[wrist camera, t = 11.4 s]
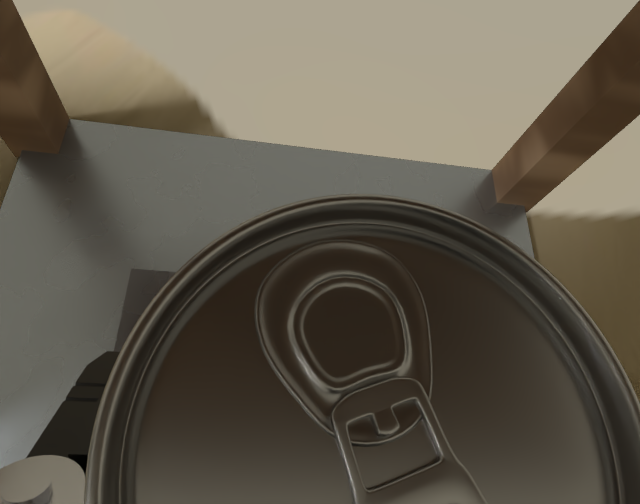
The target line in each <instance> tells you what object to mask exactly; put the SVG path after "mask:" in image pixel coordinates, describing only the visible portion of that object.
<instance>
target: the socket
mask: <svg viewBox="0 0 640 504" xmlns="http://www.w3.org/2000/svg"><path fill="white" fill-rule="evenodd" d="M341 194H377V195H388V196H396V197H402V198H407V199H412V200H417V201H421V202H425V203H429V204H432V205H436V206H439V207H442V208H445V209H448V210H450V211H453V212H456V213H458V214H460V215H463V216H465V217H467V218H470V219H472V220H474V221H476V222H478V223H480V224H482V225H484V226H486V227H488V228H489V229H491V230H493V231H495V232H496V233H498V234H500V235H501V236H503V237H505V238H506V239H508V240H509V241H511V242H512V243H514V244H515V245H517V246H518V247H519V248H521V249H522V250H524V251H525V252H526V253H528V254H529V255H530V256H531V257H533V258H534V253H533V248H532V243H531V238H530V233H529V228H528V222H527V217H526V212H525V207H524V206H522V205H513V204H504V203H497V199H496V193H495V187H494V181H493V175H492V170H485V169H478V168H470V167H461V166H453V165H444V164H437V163H428V162H420V161H412V160H404V159H395V158H387V157H378V156H370V155H363V154H354V153H346V152H338V151H330V150H321V149H313V148H305V147H296V146H288V145H280V144H271V143H264V142H256V141H247V140H239V139H231V138H223V137H214V136H206V135H198V134H190V133H181V132H173V131H165V130H157V129H148V128H140V127H132V126H124V125H115V124H107V123H99V122H91V121H83V120H74V119H69V122H68V125H67V128H66V131H65V134H64V137H63V141H62V144H61V147H60V150H59V153H58V154H53V153H44V152H35V151H26V150H22V151H21V154H20V157H19V159H18V162H17V165H16V168H15V170H14V173H13V176H12V179H11V181H10V184H9V187H8V189H7V192H6V195H5V198H4V200H3V203H2V206H1V209H0V469H1V468H3V467H4V466H7V465H9V464H11V463H13V462H16V461H19V460H22V459H25V458H26V457H27V455H28V454H29V452H30V451H31V449H32V448H33V446H34V445H35V443H36V442H37V440H38V439H39V437H40V436H41V434H42V433H43V431H44V430H45V428H46V427H47V425H48V424H49V422H50V420H51V419H52V417H53V416H54V414H55V413H56V411H57V410H58V408H59V407H60V405H61V404H62V402H63V401H65V400H66V396H67V395H68V393H69V392H70V390H71V389H72V387H73V386H75V384H76V381H77V379H78V378H79V376H80V375H81V373H82V372H83V370H84V369H85V367H86V366H87V365H88V364H89V363H91V362H92V361H94V360H95V359H96V358H98V357H99V356H101V355H102V354H104V353H105V352H107V351H115V352H120V351H121V349H122V347H123V345H124V343H125V342H126V340H127V338H128V336H129V334H130V333H131V331H132V329H133V328H134V326H135V324H136V323H137V321H138V319H139V318H140V316H141V315H142V314H143V312H144V311H145V309H146V308H147V306H148V305H149V304H150V302H151V301H152V300H153V298H154V297H155V296H156V295H157V293H158V292H159V291H160V290H161V288H162V287H163V286H164V285H165V284H166V283H167V282H168V280H169V279H170V278H171V277H172V276H173V275H174V274H175V273H176V272H177V271H178V270H179V269H180V268H181V267H182V266H183V265H184V264H185V263H186V262H187V261H189V260H190V259H191V258H192V257H193V256H194V255H195V254H197V253H198V252H199V251H200V250H202V249H203V248H204V247H205V246H207V245H208V244H209V243H211V242H212V241H214V240H215V239H216V238H218V237H219V236H221V235H222V234H224V233H226V232H227V231H229V230H230V229H232V228H234V227H236V226H237V225H239V224H241V223H243V222H245V221H247V220H249V219H251V218H253V217H255V216H258V215H260V214H262V213H265V212H267V211H270V210H272V209H275V208H278V207H281V206H284V205H287V204H290V203H294V202H298V201H302V200H306V199H311V198H316V197H323V196H330V195H341ZM534 259H535V258H534Z"/></svg>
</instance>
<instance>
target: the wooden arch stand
mask: <svg viewBox="0 0 640 504" xmlns="http://www.w3.org/2000/svg"><path fill="white" fill-rule="evenodd" d="M638 115H640V1H639V2H638V3H637V4H636V5H635V6H634V7H633V9H632V10H631V11H630V12H629V13H628V14H627V15H626V17H625V18H624V19H623V20H622V21H621V22H620V23H619V25H618V26H617V27H616V28H615V29H614V30H613V31H612V33H611V34H610V35H609V36H608V37H607V38H606V40H605V41H604V42H603V43H602V44H601V45H600V46H599V47H598V49H597V50H596V51H595V52H594V53H593V54H592V56H591V57H590V58H589V59H588V60H587V61H586V62H585V64H584V65H583V66H582V67H581V68H580V69H579V71H578V72H577V73H576V74H575V75H574V76H573V77H572V79H571V80H570V81H569V82H568V83H567V84H566V85H565V87H564V88H563V89H562V90H561V91H560V92H559V93H558V95H557V96H556V97H555V98H554V99H553V100H552V102H551V103H550V104H549V105H548V106H547V107H546V108H545V110H544V111H543V112H542V113H541V114H540V115H539V116H538V118H537V119H536V120H535V121H534V122H533V123H532V124H531V126H530V127H529V128H528V129H527V130H526V131H525V132H524V134H523V135H522V136H521V137H520V138H519V140H518V141H517V142H516V143H515V144H514V145H513V146H512V148H511V149H510V150H509V151H508V152H507V153H506V154H505V156H504V157H503V158H502V159H501V160H500V161H499V163H497V165H496V166H495V167H494V168H493V169H492V175H493V181H494V187H495V193H496V199H497V203H504V204H513V205H522V206H524V207H525V212H528V211H529V210H530V209H531V208H532V207H533V206H535V205H536V204H537V203H538V202H539V201H540V200H542V199H543V198H544V197H545V196H546V195H547V194H548V193H550V192H551V191H552V190H553V189H554V188H555V187H557V186H558V185H559V184H560V183H561V182H562V181H563V180H565V179H566V178H567V177H568V176H569V175H570V174H572V173H573V172H574V171H575V170H576V169H577V168H578V167H580V166H581V165H582V164H583V163H584V162H585V161H586V160H588V159H589V158H590V157H591V156H592V155H594V154H595V153H596V152H597V151H598V150H599V149H600V148H602V147H603V146H604V145H605V144H606V143H607V142H609V141H610V140H611V139H612V138H613V137H614V136H615V135H616V134H618V133H619V132H620V131H621V130H622V129H624V128H625V127H626V126H627V125H628V124H629V123H630V122H632V121H633V120H634V119H635V118H636V117H637V116H638ZM68 122H69V117H68V115H67V113H66V111H65V109H64V107H63V104H62V102H61V100H60V98H59V96H58V94H57V92H56V90H55V88H54V86H53V84H52V82H51V80H50V77H49V75H48V73H47V71H46V69H45V67H44V65H43V63H42V61H41V59H40V57H39V55H38V53H37V50H36V48H35V46H34V44H33V42H32V40H31V38H30V36H29V34H28V32H27V30H26V28H25V26H24V23H23V21H22V19H21V17H20V15H19V13H18V11H17V9H16V7H15V5H14V3H13V1H12V0H0V136H1V137H2V139H3V140H4V141H5V143H6V144H7V146H8V147H9V148H10V150H11V151H12V153H13V154H14V155H15V157H20V154H21V151H22V150H26V151H35V152H44V153H53V154H58V153H59V150H60V147H61V144H62V141H63V137H64V134H65V131H66V128H67V125H68Z"/></svg>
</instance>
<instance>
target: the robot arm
mask: <svg viewBox="0 0 640 504" xmlns="http://www.w3.org/2000/svg"><path fill="white" fill-rule="evenodd" d="M119 353H120V352H115V351H107V352H105V353H104V354H102V355H101V356H99V357H98V358H96V359H95V360H94V361H92V362H91V363H89V364H88V365H87V366H86V367H85V369H84V370H83V372H82V373H81V375H80V376H79V378H78V379H77V381H76V384H75V386H73V387H72V389H71V390H70V392H69V393H68V395H67V396H66V400H65V401H63V402H62V404H61V405H60V407H59V408H58V410H57V411H56V413H55V414H54V416H53V417H52V419H51V420H50V422H49V424H48V425H47V427H46V428H45V430H44V431H43V433H42V434H41V436H40V437H39V439H38V440H37V442H36V443H35V445H34V446H33V448H32V449H31V451H30V452H29V454H28V455H27V457H26V458H25V459H22V460H19V461H16V462H13V463H11V464H9V465H7V466H4V467H3V468H1V469H0V504H84V490H85V478H86V468H87V460H88V453H89V447H90V442H91V436H92V432H93V427H94V423H95V419H96V415H97V412H98V408H99V404H100V401H101V398H102V395H103V392H104V389H105V386H106V384H107V381H108V379H109V376H110V373H111V371H112V369H113V366H114V364H115V362H116V360H117V357H118V355H119Z"/></svg>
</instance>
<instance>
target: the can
mask: <svg viewBox="0 0 640 504" xmlns="http://www.w3.org/2000/svg"><path fill="white" fill-rule="evenodd" d="M84 504H640V402H639V400H638V398H637V395H636V393H635V391H634V389H633V387H632V384H631V382H630V380H629V378H628V376H627V374H626V372H625V370H624V368H623V366H622V365H621V363H620V361H619V359H618V358H617V356H616V354H615V352H614V351H613V349H612V347H611V346H610V344H609V343H608V341H607V340H606V338H605V337H604V335H603V333H602V332H601V331H600V329H599V328H598V326H597V325H596V324H595V322H594V321H593V319H592V318H591V317H590V316H589V314H588V313H587V312H586V310H585V309H584V308H583V307H582V306H581V304H580V303H579V302H578V301H577V300H576V299H575V297H574V296H573V295H572V294H571V293H570V292H569V291H568V290H567V289H566V288H565V287H564V286H563V284H562V283H561V282H560V281H558V280H557V279H556V278H555V277H554V276H553V275H552V274H551V273H550V272H549V271H548V270H547V269H546V268H545V267H543V266H542V265H541V264H540V263H539V262H538V261H536V260H535V259H534V258H533V257H531V256H530V255H529V254H528V253H526V252H525V251H524V250H522V249H521V248H519V247H518V246H517V245H515V244H514V243H512V242H511V241H509V240H508V239H506V238H505V237H503V236H501V235H500V234H498V233H496V232H495V231H493V230H491V229H489V228H488V227H486V226H484V225H482V224H480V223H478V222H476V221H474V220H472V219H470V218H467V217H465V216H463V215H460V214H458V213H456V212H453V211H450V210H448V209H445V208H442V207H439V206H436V205H432V204H429V203H425V202H421V201H417V200H412V199H407V198H402V197H396V196H388V195H377V194H341V195H330V196H323V197H316V198H311V199H306V200H302V201H298V202H294V203H290V204H287V205H284V206H281V207H278V208H275V209H272V210H270V211H267V212H265V213H262V214H260V215H258V216H255V217H253V218H251V219H249V220H247V221H245V222H243V223H241V224H239V225H237V226H236V227H234V228H232V229H230V230H229V231H227V232H226V233H224V234H222V235H221V236H219V237H218V238H216V239H215V240H214V241H212V242H211V243H209V244H208V245H207V246H205V247H204V248H203V249H202V250H200V251H199V252H198V253H197V254H195V255H194V256H193V257H192V258H191V259H190V260H189V261H187V262H186V263H185V264H184V265H183V266H182V267H181V268H180V269H179V270H178V271H177V272H176V273H175V274H174V275H173V276H172V277H171V278H170V279H169V280H168V282H167V283H166V284H165V285H164V286H163V287H162V288H161V290H160V291H159V292H158V293H157V295H156V296H155V297H154V298H153V300H152V301H151V302H150V304H149V305H148V306H147V308H146V309H145V311H144V312H143V314H142V315H141V316H140V318H139V319H138V321H137V323H136V324H135V326H134V328H133V329H132V331H131V333H130V334H129V336H128V338H127V340H126V342H125V343H124V345H123V347H122V349H121V351H120V353H119V355H118V357H117V360H116V362H115V364H114V366H113V369H112V371H111V373H110V376H109V379H108V381H107V384H106V386H105V389H104V392H103V395H102V398H101V401H100V404H99V408H98V412H97V415H96V419H95V423H94V427H93V432H92V436H91V442H90V447H89V453H88V460H87V468H86V478H85V490H84Z"/></svg>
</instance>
